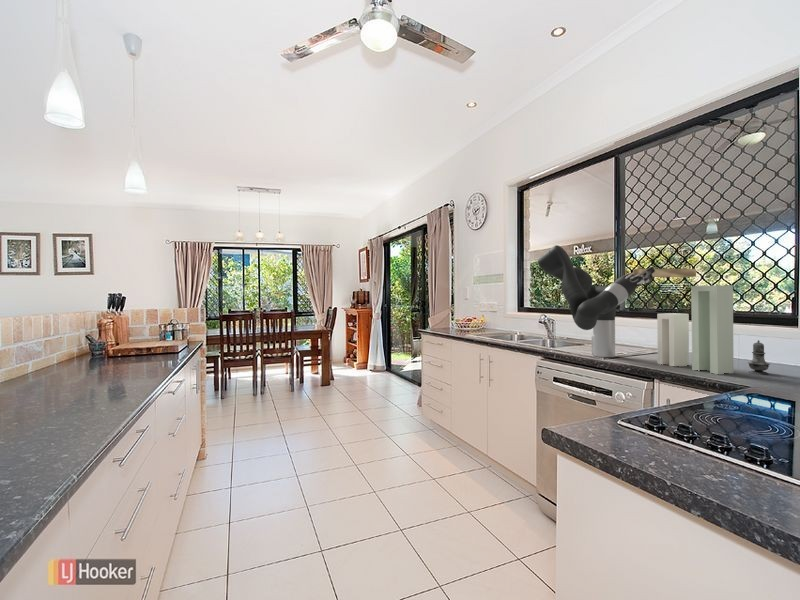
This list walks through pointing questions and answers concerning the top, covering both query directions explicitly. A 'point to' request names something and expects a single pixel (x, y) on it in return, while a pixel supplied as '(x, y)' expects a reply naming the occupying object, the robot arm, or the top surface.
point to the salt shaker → (758, 360)
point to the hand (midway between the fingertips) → (648, 269)
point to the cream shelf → (673, 339)
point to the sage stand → (712, 328)
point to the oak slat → (668, 272)
